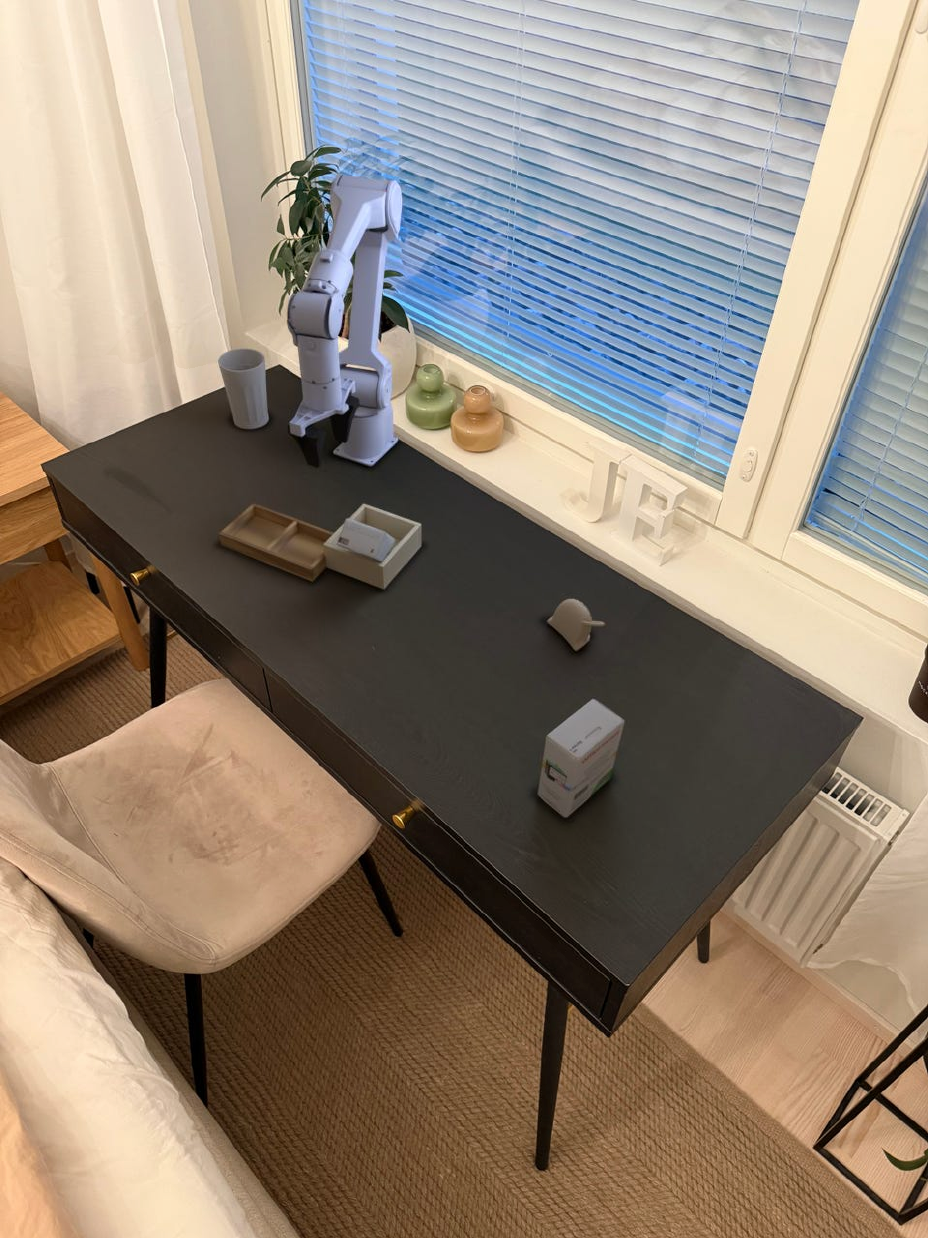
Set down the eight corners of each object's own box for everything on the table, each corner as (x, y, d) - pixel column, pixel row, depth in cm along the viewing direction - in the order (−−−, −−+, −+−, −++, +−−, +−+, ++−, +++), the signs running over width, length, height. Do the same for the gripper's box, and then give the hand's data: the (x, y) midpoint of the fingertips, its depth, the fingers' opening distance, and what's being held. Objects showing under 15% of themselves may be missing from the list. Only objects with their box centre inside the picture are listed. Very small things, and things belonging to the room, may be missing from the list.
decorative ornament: (568, 611, 131) (572, 584, 127) (604, 647, 126) (609, 620, 122) (546, 621, 129) (549, 594, 125) (581, 658, 124) (586, 631, 120)
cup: (222, 428, 161) (211, 368, 153) (237, 405, 167) (227, 346, 158) (265, 433, 160) (256, 373, 152) (278, 410, 166) (270, 350, 158)
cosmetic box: (396, 539, 136) (388, 529, 124) (385, 566, 136) (377, 560, 124) (358, 525, 136) (346, 514, 124) (348, 552, 136) (335, 544, 124)
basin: (364, 525, 143) (363, 503, 140) (421, 546, 140) (421, 523, 137) (325, 566, 136) (322, 544, 133) (383, 589, 133) (382, 567, 129)
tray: (255, 514, 144) (253, 502, 143) (344, 548, 139) (343, 536, 137) (221, 545, 139) (218, 533, 137) (312, 581, 133) (311, 569, 132)
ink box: (581, 755, 112) (593, 694, 104) (611, 779, 110) (627, 719, 102) (535, 794, 108) (544, 734, 100) (566, 820, 106) (577, 761, 97)
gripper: (315, 404, 124) (323, 484, 133) (370, 359, 133) (374, 436, 142) (273, 391, 126) (284, 470, 135) (330, 347, 135) (336, 424, 145)
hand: (327, 452), depth 139 cm, fingers open, 7 cm apart
